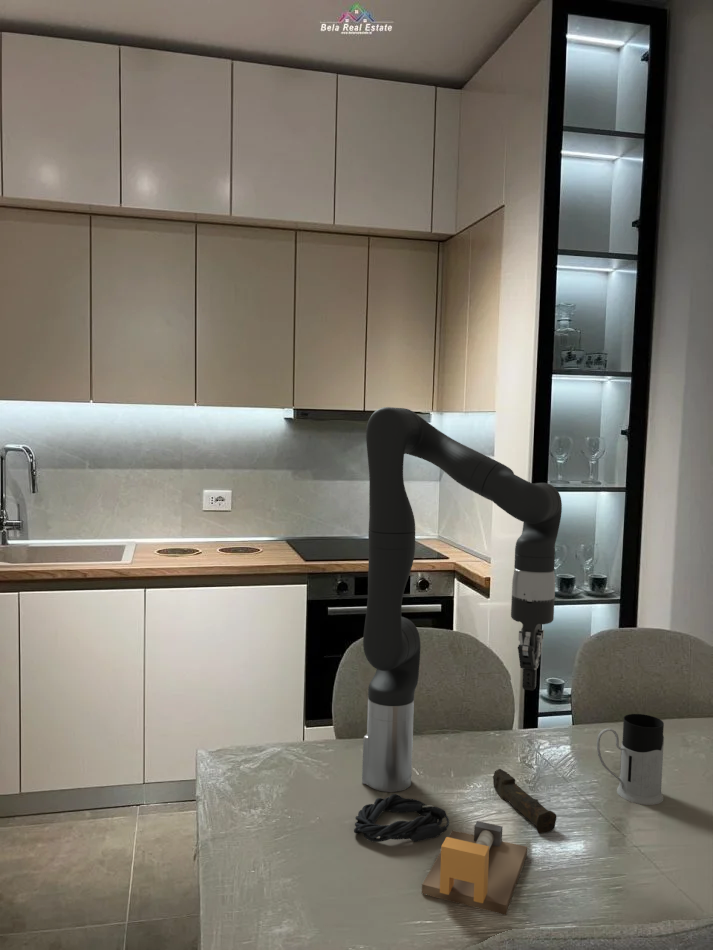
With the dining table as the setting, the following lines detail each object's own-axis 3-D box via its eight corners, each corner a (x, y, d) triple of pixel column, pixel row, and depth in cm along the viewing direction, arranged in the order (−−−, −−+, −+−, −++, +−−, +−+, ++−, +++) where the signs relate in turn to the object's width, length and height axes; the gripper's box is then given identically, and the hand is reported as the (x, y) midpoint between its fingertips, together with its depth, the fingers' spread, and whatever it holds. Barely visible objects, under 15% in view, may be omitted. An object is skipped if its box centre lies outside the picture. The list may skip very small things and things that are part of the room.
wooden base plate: (421, 893, 122) (422, 867, 122) (452, 838, 139) (452, 815, 138) (505, 915, 117) (507, 888, 117) (526, 855, 134) (527, 831, 134)
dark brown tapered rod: (557, 832, 142) (558, 807, 142) (537, 835, 141) (538, 810, 141) (506, 786, 160) (507, 764, 160) (488, 788, 159) (489, 766, 159)
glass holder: (672, 803, 155) (676, 727, 154) (606, 808, 152) (610, 731, 151) (647, 783, 163) (650, 711, 162) (583, 787, 160) (587, 715, 159)
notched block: (439, 892, 119) (441, 846, 119) (445, 882, 122) (446, 836, 122) (482, 903, 117) (484, 856, 116) (487, 892, 120) (489, 846, 119)
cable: (369, 857, 133) (370, 831, 132) (335, 818, 145) (336, 795, 145) (456, 837, 140) (457, 813, 140) (417, 802, 153) (418, 780, 152)
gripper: (518, 585, 150) (515, 675, 151) (504, 599, 138) (501, 696, 139) (559, 589, 147) (555, 681, 148) (548, 603, 135) (544, 703, 136)
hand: (529, 688), depth 143 cm, fingers closed
